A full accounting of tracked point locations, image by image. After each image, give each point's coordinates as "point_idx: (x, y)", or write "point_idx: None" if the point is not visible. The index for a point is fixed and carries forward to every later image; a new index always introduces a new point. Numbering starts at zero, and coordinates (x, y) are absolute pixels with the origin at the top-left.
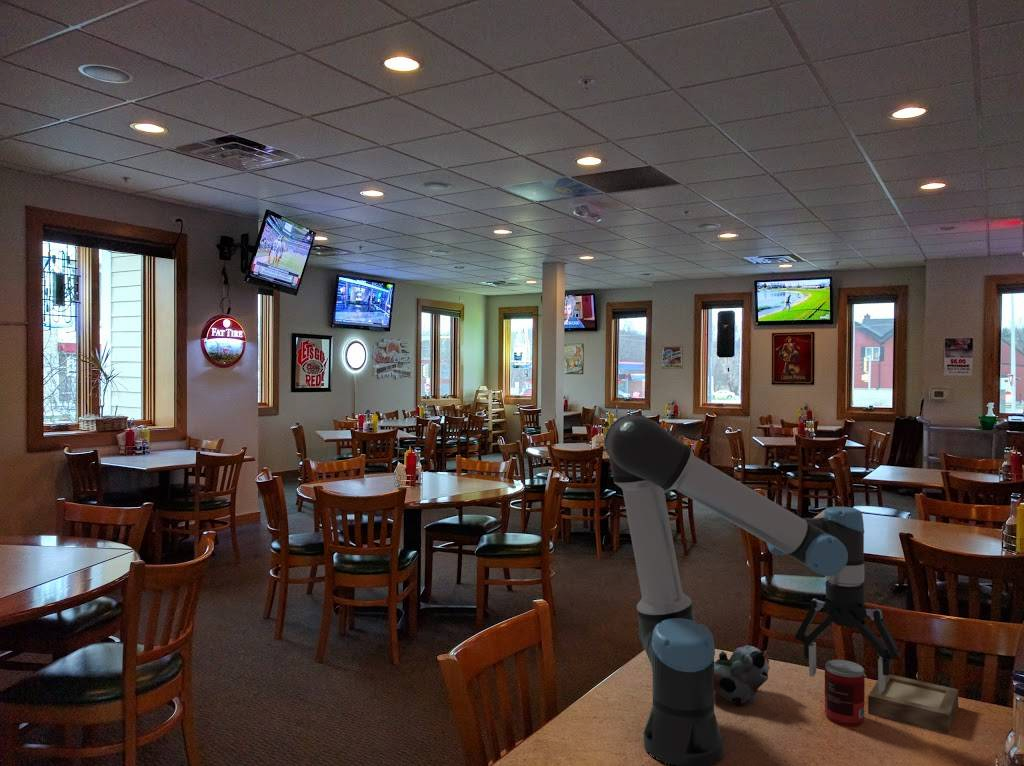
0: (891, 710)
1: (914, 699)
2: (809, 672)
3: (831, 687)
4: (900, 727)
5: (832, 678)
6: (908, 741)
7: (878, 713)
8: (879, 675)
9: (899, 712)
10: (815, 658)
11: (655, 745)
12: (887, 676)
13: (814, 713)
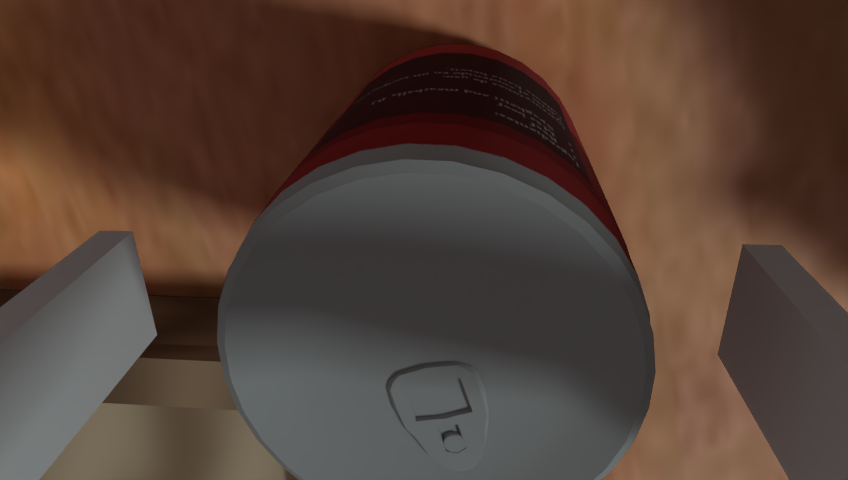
0: None
1: (148, 464)
2: (796, 261)
3: (531, 121)
4: (177, 229)
5: (524, 144)
6: (77, 77)
7: None
8: (25, 313)
9: (185, 324)
10: (788, 442)
11: None
12: None
13: (642, 124)
